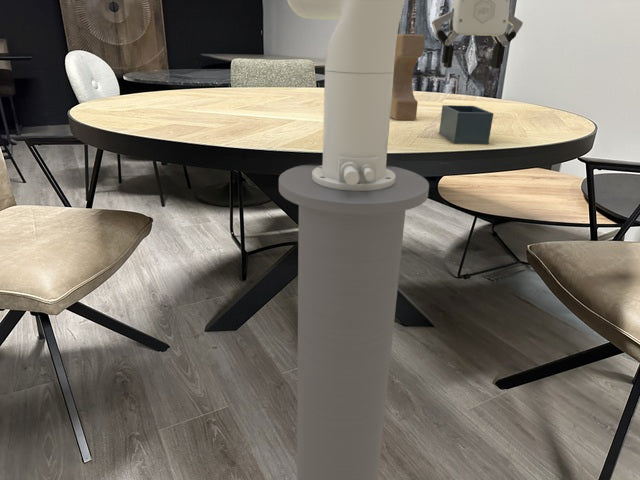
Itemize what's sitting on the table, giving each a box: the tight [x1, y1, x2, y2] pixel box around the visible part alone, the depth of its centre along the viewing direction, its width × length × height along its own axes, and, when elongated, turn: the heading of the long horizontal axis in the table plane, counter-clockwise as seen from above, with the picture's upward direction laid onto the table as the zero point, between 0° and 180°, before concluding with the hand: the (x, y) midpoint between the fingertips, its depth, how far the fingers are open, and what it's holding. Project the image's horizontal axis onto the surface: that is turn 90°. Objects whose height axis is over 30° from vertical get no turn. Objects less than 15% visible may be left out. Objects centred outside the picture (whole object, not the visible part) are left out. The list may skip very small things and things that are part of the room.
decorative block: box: [390, 33, 426, 121], centre depth 120 cm, size 11×6×20 cm, turn 8°
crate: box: [438, 104, 494, 145], centre depth 97 cm, size 11×7×6 cm, turn 2°
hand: (471, 67), depth 93 cm, fingers open, 9 cm apart
